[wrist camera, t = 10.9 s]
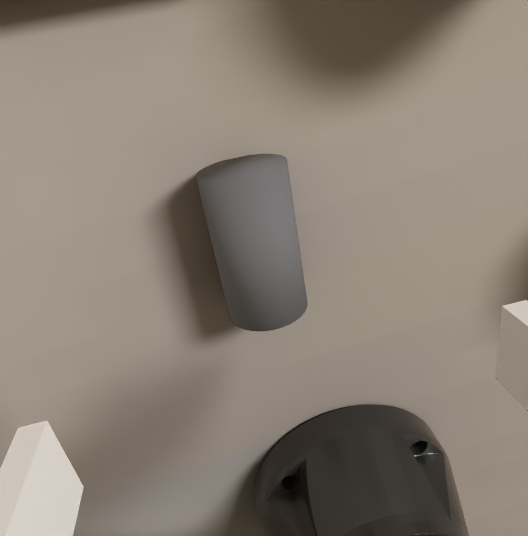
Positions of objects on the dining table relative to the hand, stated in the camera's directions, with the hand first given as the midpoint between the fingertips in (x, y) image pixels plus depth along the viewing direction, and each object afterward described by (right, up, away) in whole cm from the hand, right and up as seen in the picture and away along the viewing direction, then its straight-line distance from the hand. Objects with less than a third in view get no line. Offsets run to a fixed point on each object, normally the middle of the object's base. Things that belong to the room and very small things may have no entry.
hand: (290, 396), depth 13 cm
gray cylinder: (-1, +5, +10) cm, 11 cm away
